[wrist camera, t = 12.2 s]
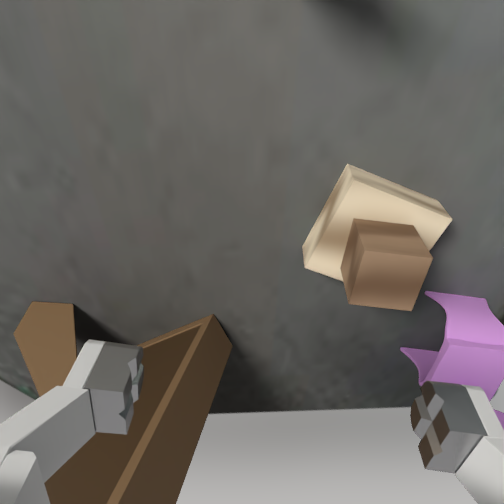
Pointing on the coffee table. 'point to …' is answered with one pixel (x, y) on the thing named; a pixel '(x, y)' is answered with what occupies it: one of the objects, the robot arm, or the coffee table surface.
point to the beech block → (368, 216)
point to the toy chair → (465, 347)
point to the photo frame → (145, 408)
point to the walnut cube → (384, 264)
